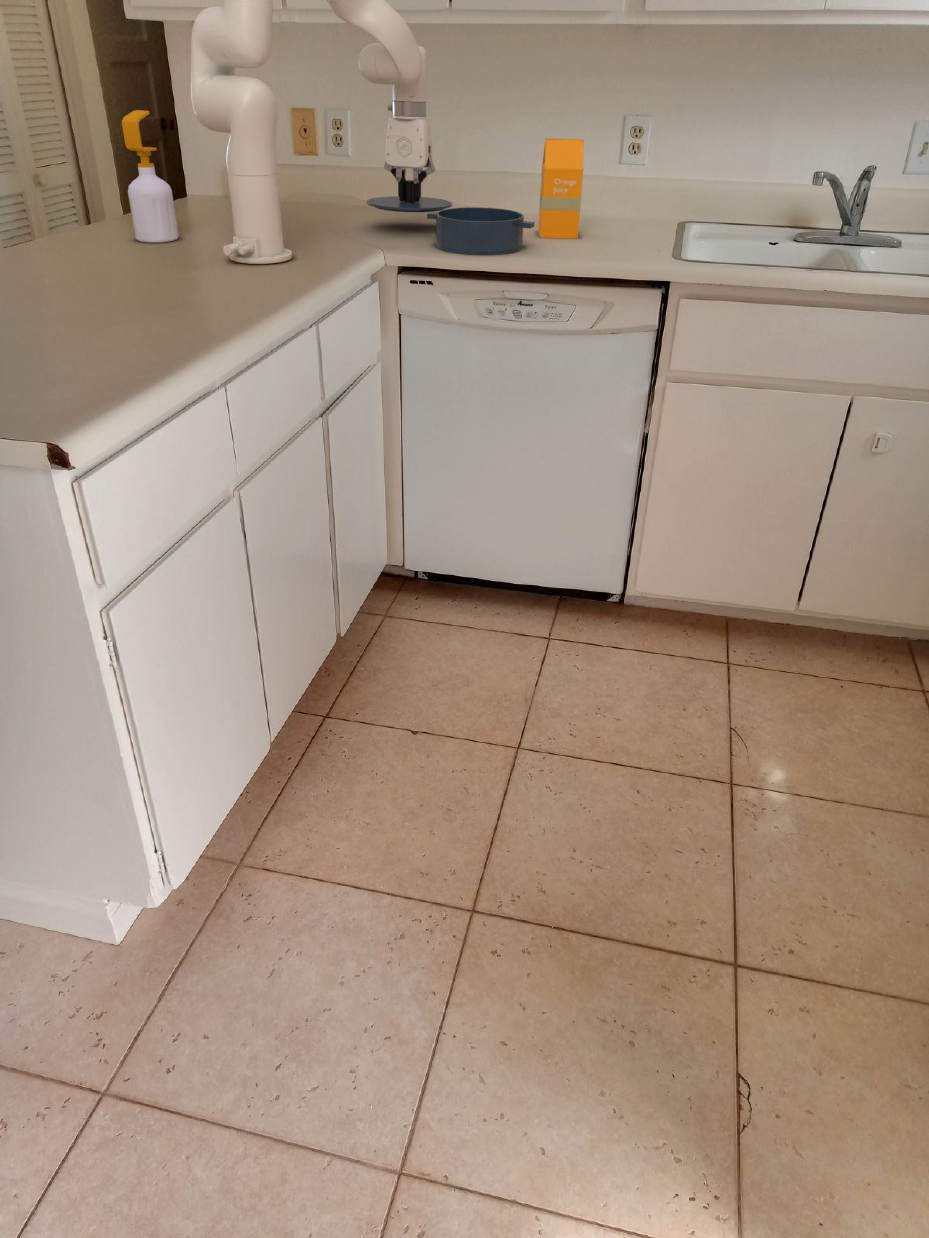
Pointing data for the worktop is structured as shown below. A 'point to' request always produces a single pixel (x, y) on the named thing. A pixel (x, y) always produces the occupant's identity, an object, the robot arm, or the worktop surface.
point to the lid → (409, 202)
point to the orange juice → (561, 188)
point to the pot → (479, 230)
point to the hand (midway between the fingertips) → (409, 200)
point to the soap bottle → (148, 190)
